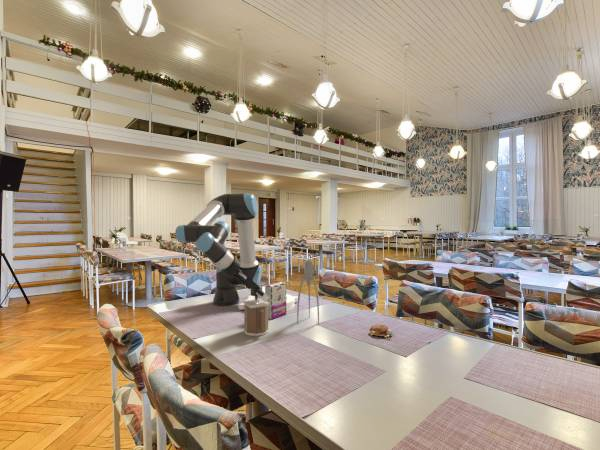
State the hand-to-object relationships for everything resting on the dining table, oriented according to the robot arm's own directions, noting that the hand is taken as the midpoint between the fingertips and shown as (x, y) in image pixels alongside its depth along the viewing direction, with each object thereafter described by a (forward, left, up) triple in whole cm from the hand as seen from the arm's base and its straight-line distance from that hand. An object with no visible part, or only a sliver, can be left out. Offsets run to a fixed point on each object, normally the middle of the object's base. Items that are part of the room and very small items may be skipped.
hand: (264, 298), depth 137 cm
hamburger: (+31, +41, -15) cm, 54 cm away
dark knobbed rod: (0, -4, -12) cm, 13 cm away
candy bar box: (-16, +13, -14) cm, 25 cm away
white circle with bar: (-34, +18, -15) cm, 41 cm away
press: (+1, -4, -14) cm, 15 cm away
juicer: (-2, +24, -14) cm, 28 cm away
